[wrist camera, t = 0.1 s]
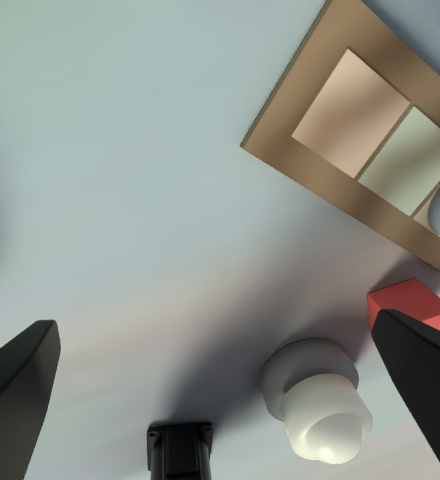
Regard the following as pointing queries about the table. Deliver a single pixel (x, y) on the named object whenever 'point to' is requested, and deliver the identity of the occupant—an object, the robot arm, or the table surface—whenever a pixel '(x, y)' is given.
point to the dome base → (302, 368)
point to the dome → (325, 418)
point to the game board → (358, 125)
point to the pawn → (434, 213)
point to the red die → (406, 302)
